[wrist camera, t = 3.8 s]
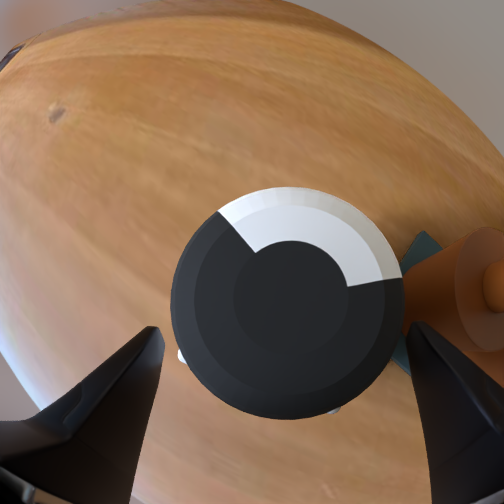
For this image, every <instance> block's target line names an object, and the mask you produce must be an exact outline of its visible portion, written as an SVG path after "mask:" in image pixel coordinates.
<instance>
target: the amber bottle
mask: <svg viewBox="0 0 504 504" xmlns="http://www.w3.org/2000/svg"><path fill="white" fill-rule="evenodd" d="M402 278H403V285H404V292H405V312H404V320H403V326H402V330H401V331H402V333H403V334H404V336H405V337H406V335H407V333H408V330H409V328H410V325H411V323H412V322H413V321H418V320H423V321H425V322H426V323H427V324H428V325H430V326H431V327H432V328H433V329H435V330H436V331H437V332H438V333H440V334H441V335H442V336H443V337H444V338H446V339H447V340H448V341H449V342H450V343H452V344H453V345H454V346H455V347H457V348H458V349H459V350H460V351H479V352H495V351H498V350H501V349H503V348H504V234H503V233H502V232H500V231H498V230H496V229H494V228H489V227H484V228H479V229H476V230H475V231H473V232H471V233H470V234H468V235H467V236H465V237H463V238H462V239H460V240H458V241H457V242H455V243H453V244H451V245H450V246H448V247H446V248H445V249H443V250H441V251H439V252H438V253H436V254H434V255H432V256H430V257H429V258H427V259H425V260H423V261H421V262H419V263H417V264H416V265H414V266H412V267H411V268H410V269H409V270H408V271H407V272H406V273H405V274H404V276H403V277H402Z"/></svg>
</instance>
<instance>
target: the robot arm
mask: <svg viewBox="0 0 504 504" xmlns="http://www.w3.org/2000/svg"><path fill="white" fill-rule="evenodd" d="M405 343H406V349H407V354H408V360H409V366H410V373H411V378H412V383H413V387H414V391H415V395H416V399H417V403H418V408H419V413H420V417H421V422H422V427H423V433H424V438H425V444H426V451H427V457H428V465H429V474H430V484H431V496H432V504H504V388H503V387H502V386H501V385H499V384H498V383H497V382H496V381H495V380H494V379H492V378H491V377H490V376H489V375H488V374H486V373H485V372H484V371H483V370H482V369H481V368H480V367H479V366H478V365H476V364H475V363H474V362H473V361H472V360H471V359H470V358H468V357H467V356H466V355H465V354H464V353H462V352H461V351H460V350H459V349H458V348H457V347H455V346H454V345H453V344H452V343H450V342H449V341H448V340H447V339H446V338H444V337H443V336H442V335H441V334H440V333H438V332H437V331H436V330H435V329H433V328H432V327H431V326H430V325H428V324H427V323H426V322H425V321H423V320H418V321H413V322H412V323H411V325H410V328H409V330H408V333H407V335H406V339H405ZM164 350H165V342H164V339H163V337H162V334H161V332H160V330H159V328H158V327H155V326H147V327H145V328H144V329H143V330H142V331H141V332H139V333H138V334H137V335H136V336H135V337H133V338H132V339H131V340H130V341H129V342H127V343H126V344H125V345H124V346H123V347H121V348H120V349H119V350H118V351H117V352H115V353H114V354H113V355H112V356H111V357H109V358H108V359H107V360H106V361H105V362H103V363H102V364H101V365H100V366H99V367H97V368H96V369H95V370H94V371H93V372H91V373H90V374H89V375H88V376H87V377H85V378H84V379H83V380H82V381H81V382H79V383H78V384H77V385H76V386H75V387H74V388H72V389H71V390H70V391H69V392H67V393H66V394H65V395H63V396H62V397H61V398H59V399H58V400H57V401H55V402H54V403H52V404H51V405H49V406H48V407H46V408H45V409H44V410H42V411H41V412H39V413H38V414H36V415H35V416H33V417H31V418H29V419H26V420H21V421H0V504H129V501H130V496H131V492H132V487H133V483H134V478H135V477H134V476H135V473H136V469H137V464H138V460H139V456H140V452H141V448H142V444H143V440H144V436H145V432H146V428H147V424H148V420H149V417H150V413H151V409H152V406H153V402H154V398H155V395H156V391H157V388H158V384H159V379H160V373H161V367H162V361H163V356H164Z"/></svg>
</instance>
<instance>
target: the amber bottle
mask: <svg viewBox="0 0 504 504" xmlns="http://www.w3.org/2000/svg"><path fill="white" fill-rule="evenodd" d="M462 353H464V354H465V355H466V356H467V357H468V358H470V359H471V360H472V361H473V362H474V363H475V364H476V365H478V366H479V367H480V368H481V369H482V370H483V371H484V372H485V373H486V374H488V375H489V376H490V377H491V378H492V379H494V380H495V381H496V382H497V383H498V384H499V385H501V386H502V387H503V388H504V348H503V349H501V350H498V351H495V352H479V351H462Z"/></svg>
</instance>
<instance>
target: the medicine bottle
mask: <svg viewBox="0 0 504 504" xmlns="http://www.w3.org/2000/svg"><path fill="white" fill-rule="evenodd" d="M170 310H171V320H172V326H173V330H174V334H175V338H176V342H177V344H178V347H179V351H178V357H179V360H181V361H182V362H183V363H186V364H187V365H188V366H189V368H190V370H191V371H192V372H193V373H194V375H195V376H196V377H197V378H198V380H199V381H200V382H201V383H202V384H203V385H204V386H205V387H206V388H207V389H208V390H209V391H210V392H211V393H213V394H214V395H215V396H216V397H218V398H219V399H221V400H222V401H224V402H225V403H227V404H228V405H230V406H233V407H235V408H237V409H239V410H241V411H243V412H246V413H249V414H252V415H255V416H259V417H264V418H270V419H278V420H295V419H303V418H310V417H314V416H318V415H321V414H324V413H329V414H334V413H336V412H338V411H339V409H340V408H341V406H343V405H345V404H346V403H348V402H350V401H351V400H353V399H354V398H356V397H357V396H359V395H360V394H361V393H362V392H363V391H364V390H365V389H367V388H368V387H369V386H370V385H371V384H372V383H373V382H374V381H375V379H376V378H377V377H378V376H379V375H380V374H381V372H382V371H383V369H384V368H385V366H386V365H387V363H388V362H389V360H390V358H391V357H392V354H393V352H394V350H395V348H396V346H397V343H398V340H399V337H400V334H401V330H402V326H403V320H404V312H405V292H404V285H403V278H402V274H401V271H400V267H399V264H398V261H397V259H396V257H395V255H394V252H393V250H392V248H391V246H390V245H389V243H388V241H387V240H386V238H385V237H384V235H383V234H382V233H381V231H380V230H379V229H378V228H377V227H376V225H375V224H374V223H373V222H372V221H371V220H370V219H369V218H368V217H366V216H365V215H364V214H363V213H362V212H361V211H359V210H358V209H356V208H355V207H354V206H352V205H351V204H349V203H347V202H345V201H343V200H341V199H340V198H338V197H336V196H333V195H330V194H327V193H324V192H322V191H318V190H313V189H308V188H299V187H278V188H270V189H265V190H260V191H256V192H253V193H250V194H247V195H244V196H242V197H240V198H238V199H236V200H234V201H232V202H230V203H228V204H227V205H225V206H224V207H222V208H221V209H219V210H218V211H216V212H215V213H214V214H213V215H212V216H211V217H210V218H208V219H207V220H206V221H205V222H204V223H203V224H202V225H201V227H200V228H199V229H198V230H197V231H196V232H195V233H194V235H193V236H192V238H191V239H190V241H189V242H188V244H187V245H186V247H185V249H184V251H183V253H182V255H181V257H180V259H179V262H178V265H177V268H176V271H175V274H174V278H173V283H172V289H171V303H170Z"/></svg>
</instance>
